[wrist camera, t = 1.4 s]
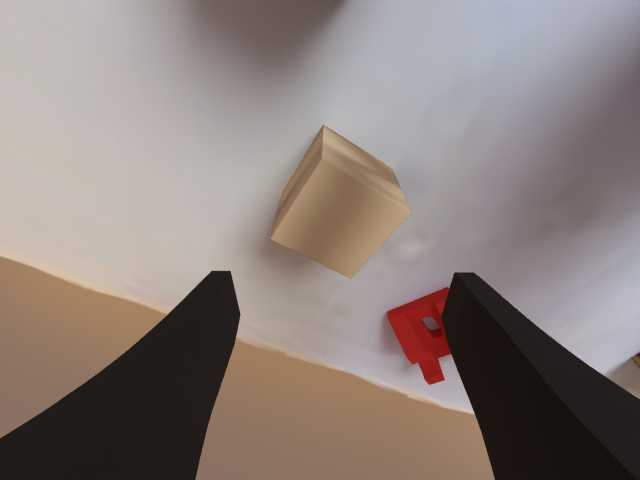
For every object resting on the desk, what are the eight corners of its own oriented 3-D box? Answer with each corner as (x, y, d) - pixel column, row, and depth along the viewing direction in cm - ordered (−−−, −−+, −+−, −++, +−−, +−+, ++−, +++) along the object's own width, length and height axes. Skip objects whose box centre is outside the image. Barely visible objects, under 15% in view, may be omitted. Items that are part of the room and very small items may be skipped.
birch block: (391, 168, 17) (411, 212, 13) (346, 225, 20) (351, 279, 16) (323, 124, 16) (321, 158, 12) (283, 191, 18) (270, 239, 14)
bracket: (475, 332, 26) (490, 365, 23) (420, 352, 27) (429, 384, 25) (446, 283, 23) (461, 315, 20) (386, 308, 24) (393, 340, 22)
